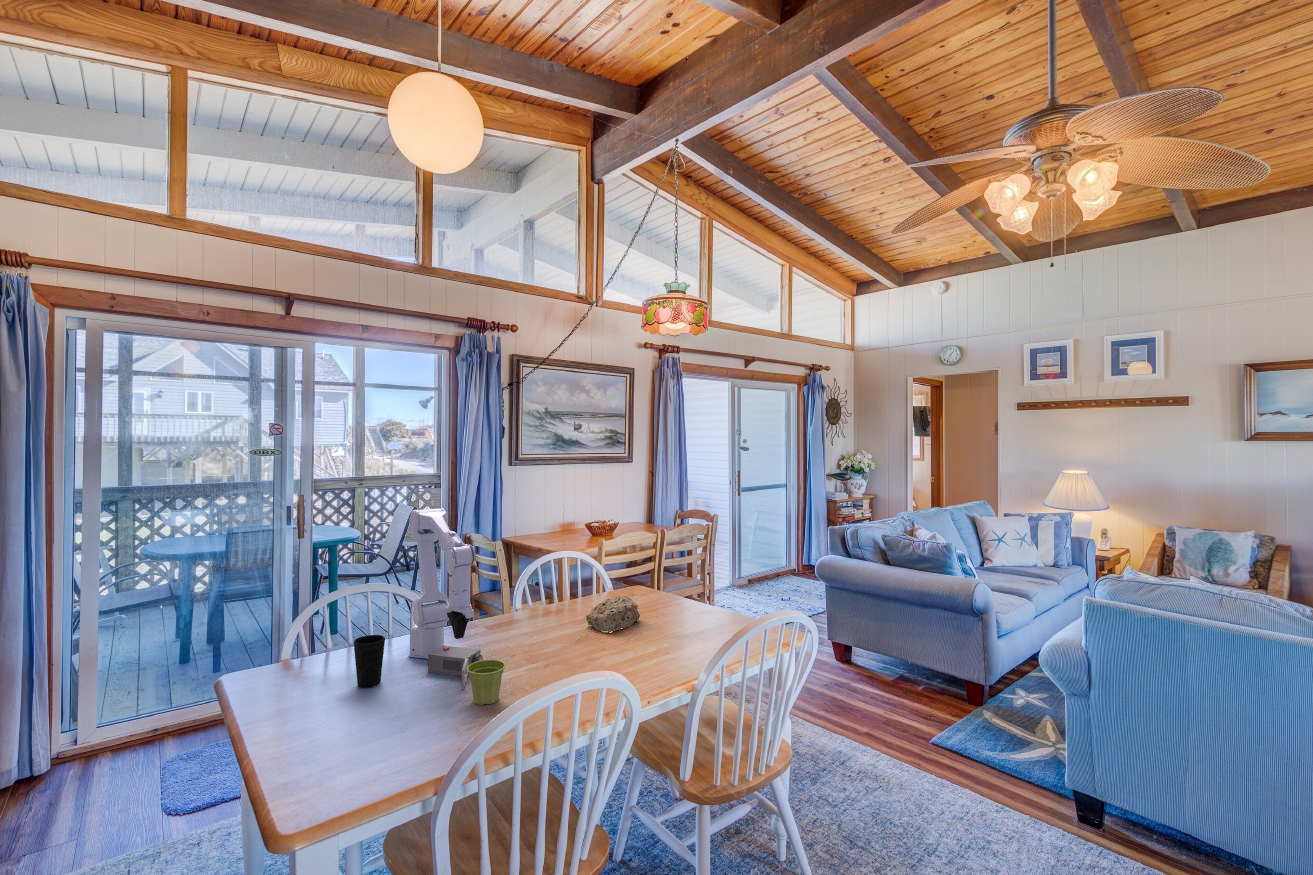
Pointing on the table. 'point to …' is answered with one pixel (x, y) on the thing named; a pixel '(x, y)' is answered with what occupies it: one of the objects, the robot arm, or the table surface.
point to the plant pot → (486, 680)
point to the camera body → (452, 659)
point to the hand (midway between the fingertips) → (459, 637)
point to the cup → (369, 660)
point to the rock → (613, 614)
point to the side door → (464, 673)
